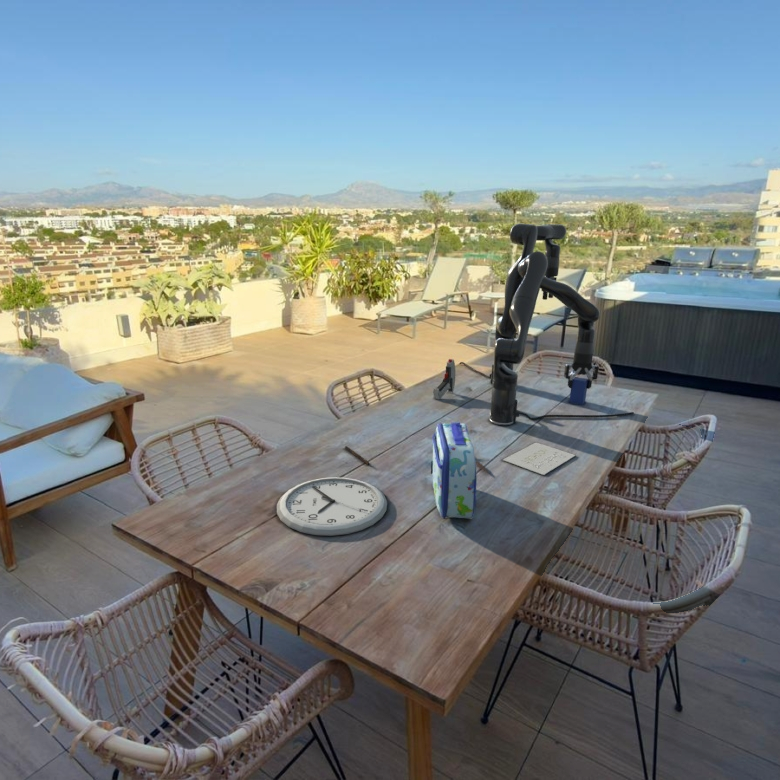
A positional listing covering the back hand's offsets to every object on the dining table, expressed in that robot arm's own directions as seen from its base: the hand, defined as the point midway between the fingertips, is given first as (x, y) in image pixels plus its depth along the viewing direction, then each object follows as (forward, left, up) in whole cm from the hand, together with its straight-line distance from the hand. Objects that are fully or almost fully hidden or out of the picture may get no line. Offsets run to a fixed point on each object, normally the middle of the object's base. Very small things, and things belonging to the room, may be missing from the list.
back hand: (547, 298), depth 267 cm
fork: (+42, -118, -39) cm, 131 cm away
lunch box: (+51, -143, -39) cm, 157 cm away
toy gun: (-10, -69, -39) cm, 80 cm away
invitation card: (+54, -99, -39) cm, 120 cm away
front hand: (+37, -34, -32) cm, 59 cm away
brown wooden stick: (+11, -142, -39) cm, 148 cm away
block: (+37, -34, -39) cm, 63 cm away
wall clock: (+30, -169, -39) cm, 176 cm away
